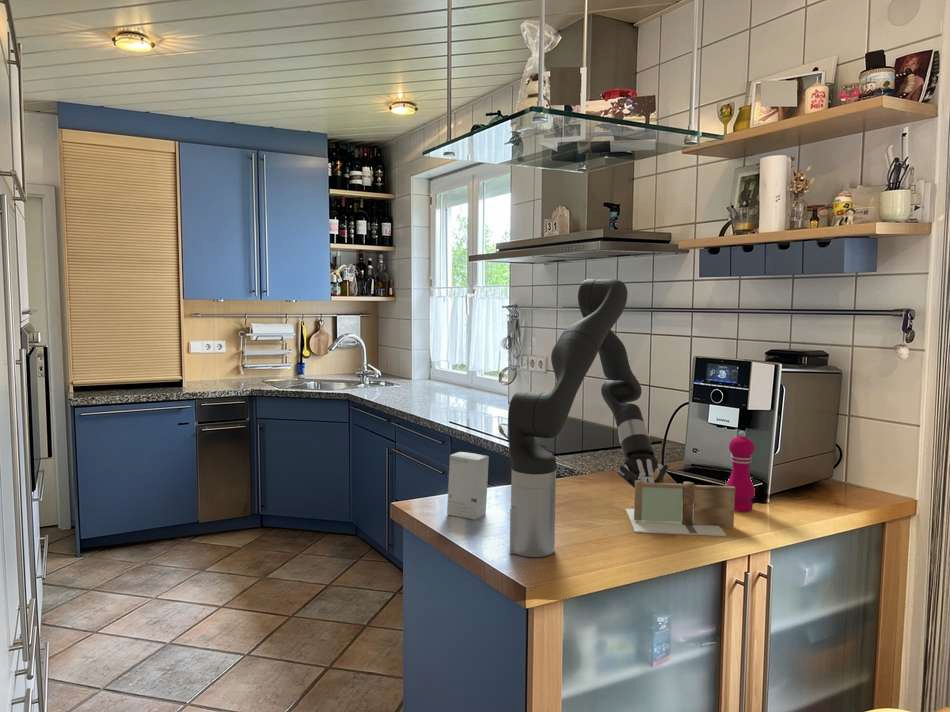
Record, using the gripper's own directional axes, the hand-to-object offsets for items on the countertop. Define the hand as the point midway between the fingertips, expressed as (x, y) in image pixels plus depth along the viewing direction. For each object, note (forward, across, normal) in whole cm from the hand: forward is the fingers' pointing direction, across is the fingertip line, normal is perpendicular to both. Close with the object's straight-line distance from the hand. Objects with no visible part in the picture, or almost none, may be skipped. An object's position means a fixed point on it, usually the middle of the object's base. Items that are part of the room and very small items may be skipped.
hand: (651, 501), depth 163 cm
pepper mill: (-1, +26, +8) cm, 27 cm away
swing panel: (+5, 0, 0) cm, 5 cm away
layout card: (+5, +4, +1) cm, 7 cm away
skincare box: (-2, -44, +8) cm, 45 cm away
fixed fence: (+7, +11, -1) cm, 13 cm away
